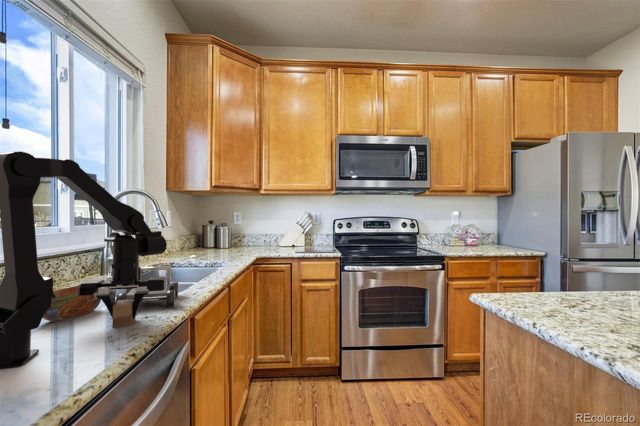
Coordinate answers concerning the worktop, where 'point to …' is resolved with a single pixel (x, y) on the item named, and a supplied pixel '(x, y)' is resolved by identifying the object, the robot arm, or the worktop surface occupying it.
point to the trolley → (169, 291)
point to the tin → (70, 304)
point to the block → (123, 313)
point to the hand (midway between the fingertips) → (124, 318)
